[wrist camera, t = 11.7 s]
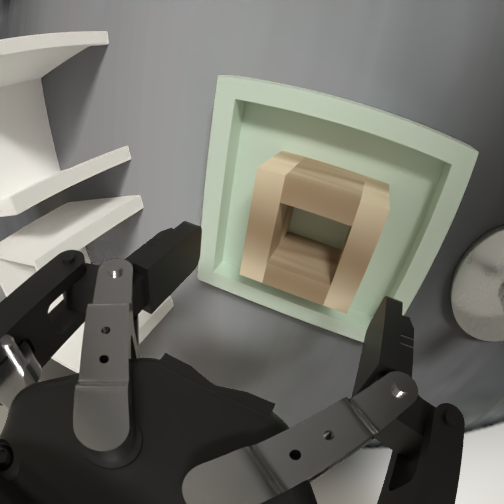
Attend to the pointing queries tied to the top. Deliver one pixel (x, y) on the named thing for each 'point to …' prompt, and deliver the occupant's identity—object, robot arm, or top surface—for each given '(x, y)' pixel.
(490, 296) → the grey round stand
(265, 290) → the tray
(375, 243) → the brown wooden frame
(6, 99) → the storage container
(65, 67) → the top surface
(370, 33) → the top surface
